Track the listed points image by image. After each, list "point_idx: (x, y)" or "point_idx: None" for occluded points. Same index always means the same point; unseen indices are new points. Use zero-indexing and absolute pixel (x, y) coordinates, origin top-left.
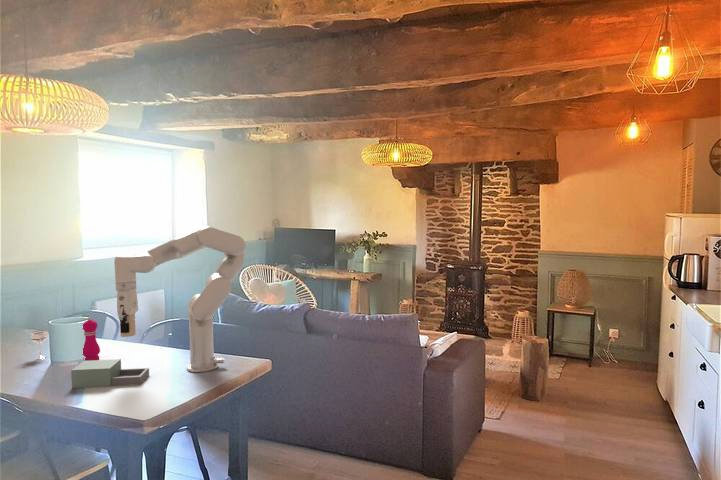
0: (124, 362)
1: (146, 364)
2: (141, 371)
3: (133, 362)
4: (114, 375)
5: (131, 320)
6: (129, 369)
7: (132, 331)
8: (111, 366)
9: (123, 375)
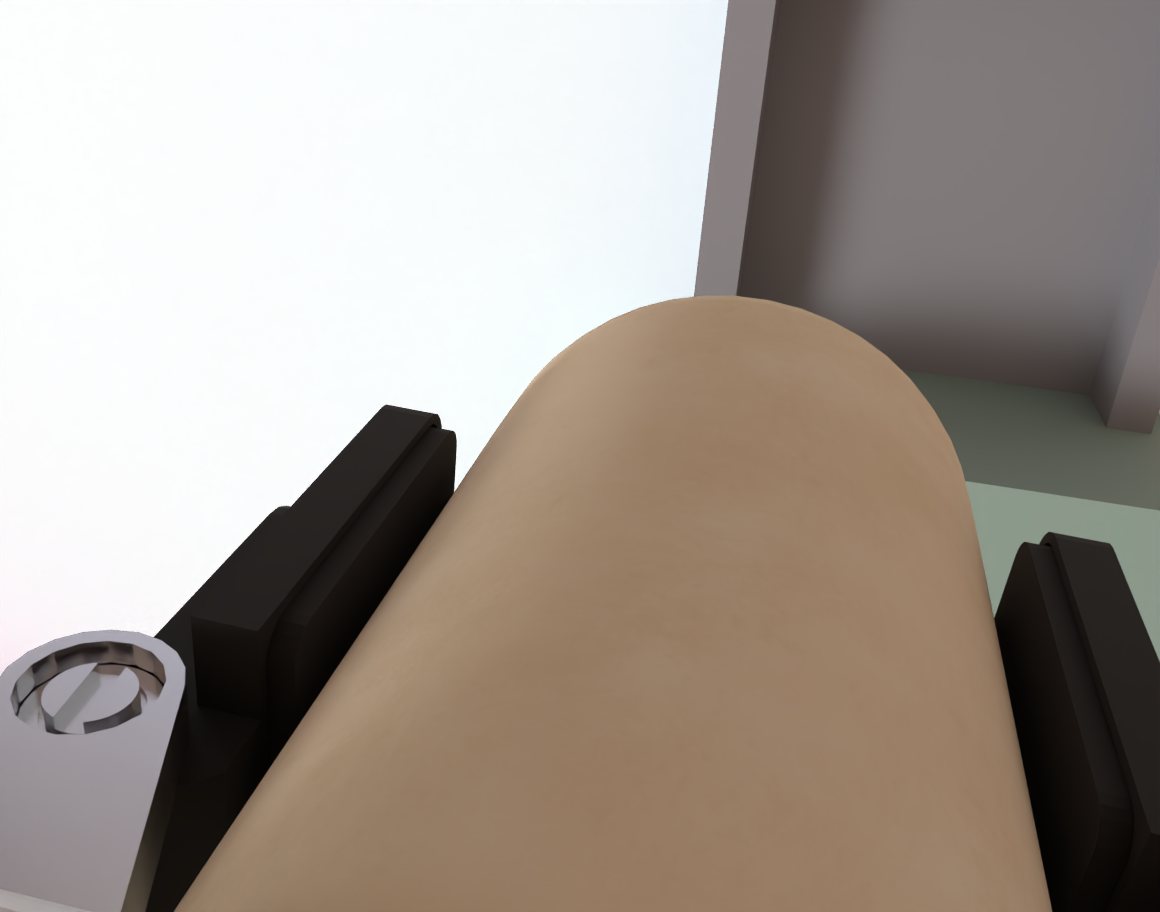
0: (74, 398)
1: (167, 65)
2: (777, 10)
3: (73, 281)
4: (972, 404)
5: (961, 782)
6: (742, 227)
7: (899, 427)
8: (1097, 509)
9: (781, 290)
